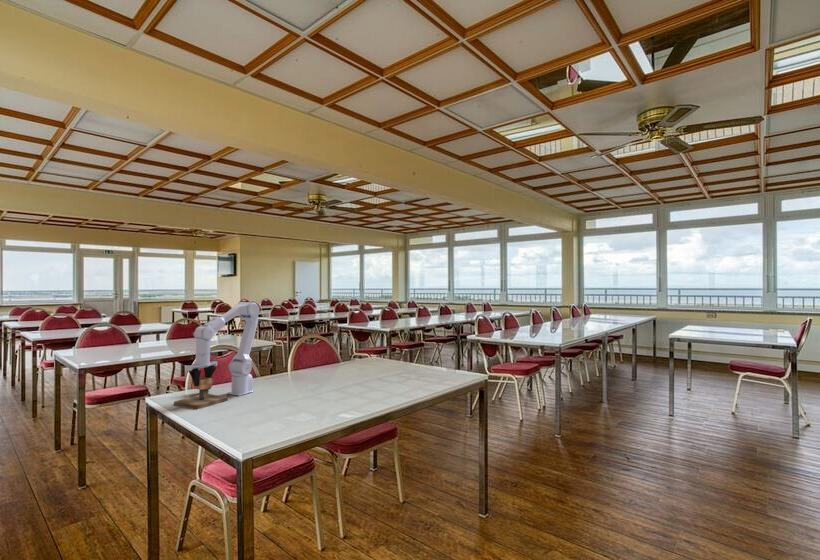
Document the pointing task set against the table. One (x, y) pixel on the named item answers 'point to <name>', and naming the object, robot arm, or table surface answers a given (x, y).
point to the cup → (207, 388)
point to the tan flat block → (200, 400)
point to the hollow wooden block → (203, 383)
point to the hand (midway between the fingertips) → (201, 384)
